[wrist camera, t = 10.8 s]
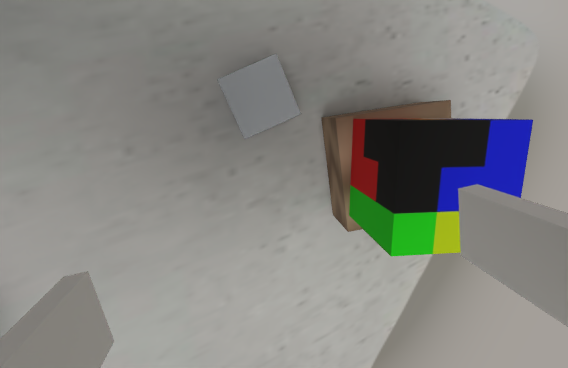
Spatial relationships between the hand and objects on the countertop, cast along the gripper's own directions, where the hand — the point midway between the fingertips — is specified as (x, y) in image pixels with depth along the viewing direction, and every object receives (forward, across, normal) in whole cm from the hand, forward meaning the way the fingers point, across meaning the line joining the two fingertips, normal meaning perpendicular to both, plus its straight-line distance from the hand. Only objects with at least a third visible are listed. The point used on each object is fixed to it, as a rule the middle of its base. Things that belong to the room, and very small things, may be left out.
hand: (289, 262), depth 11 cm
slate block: (+27, +2, +6) cm, 28 cm away
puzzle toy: (+21, +14, -3) cm, 25 cm away
